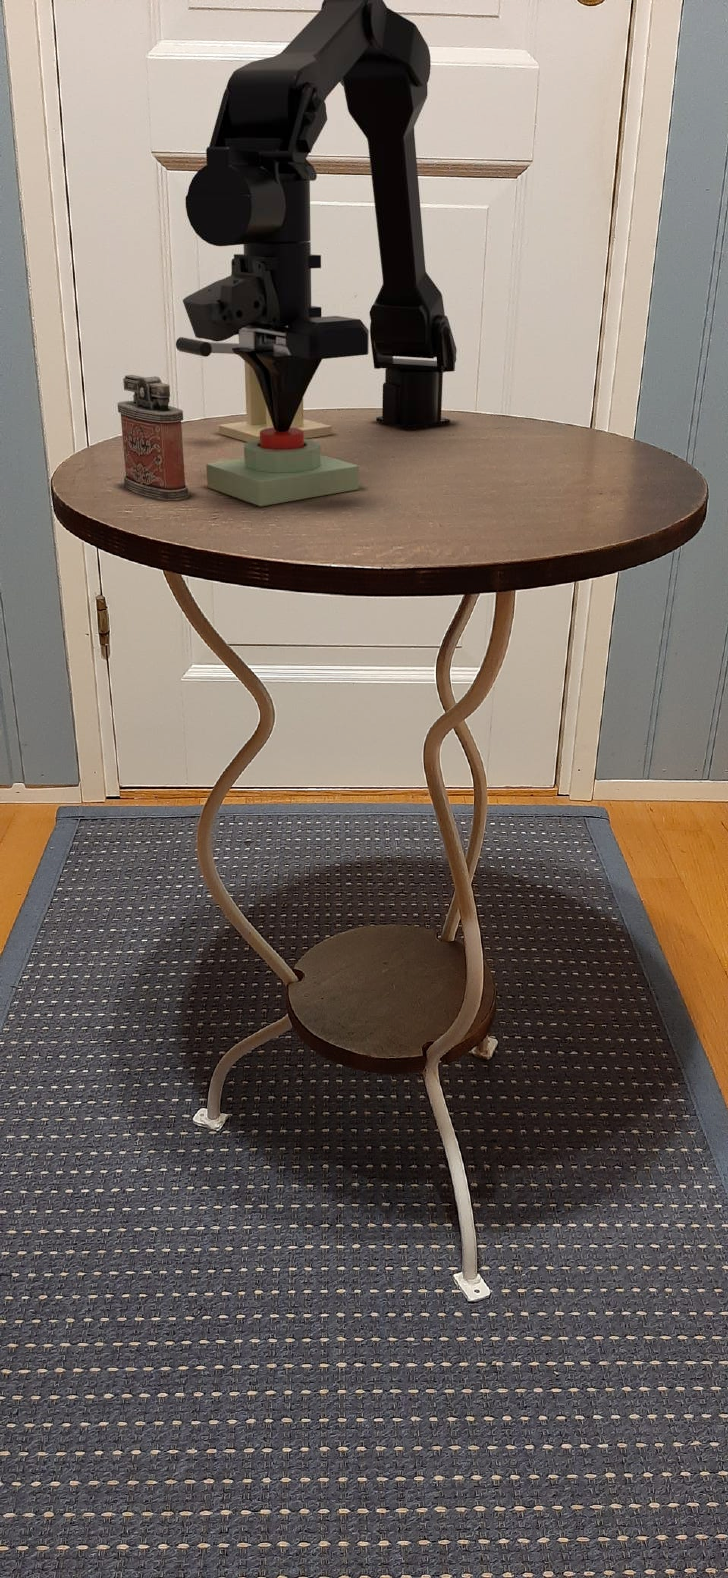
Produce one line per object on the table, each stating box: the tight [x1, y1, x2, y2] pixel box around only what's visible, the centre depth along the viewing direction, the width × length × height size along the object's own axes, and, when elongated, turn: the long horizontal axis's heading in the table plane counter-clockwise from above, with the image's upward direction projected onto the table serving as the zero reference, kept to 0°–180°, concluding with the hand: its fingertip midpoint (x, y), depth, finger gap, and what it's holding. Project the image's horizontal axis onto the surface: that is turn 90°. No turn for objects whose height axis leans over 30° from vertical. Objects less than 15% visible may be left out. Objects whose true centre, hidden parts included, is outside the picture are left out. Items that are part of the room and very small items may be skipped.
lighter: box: [117, 374, 189, 501], centre depth 103 cm, size 8×3×10 cm, turn 43°
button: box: [260, 428, 304, 450], centre depth 105 cm, size 4×4×2 cm
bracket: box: [218, 360, 332, 443], centre depth 128 cm, size 10×8×11 cm
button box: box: [205, 438, 360, 507], centre depth 106 cm, size 11×9×4 cm
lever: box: [175, 336, 239, 358], centre depth 123 cm, size 12×5×2 cm, turn 128°
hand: (281, 430), depth 105 cm, fingers closed, pressing on button
